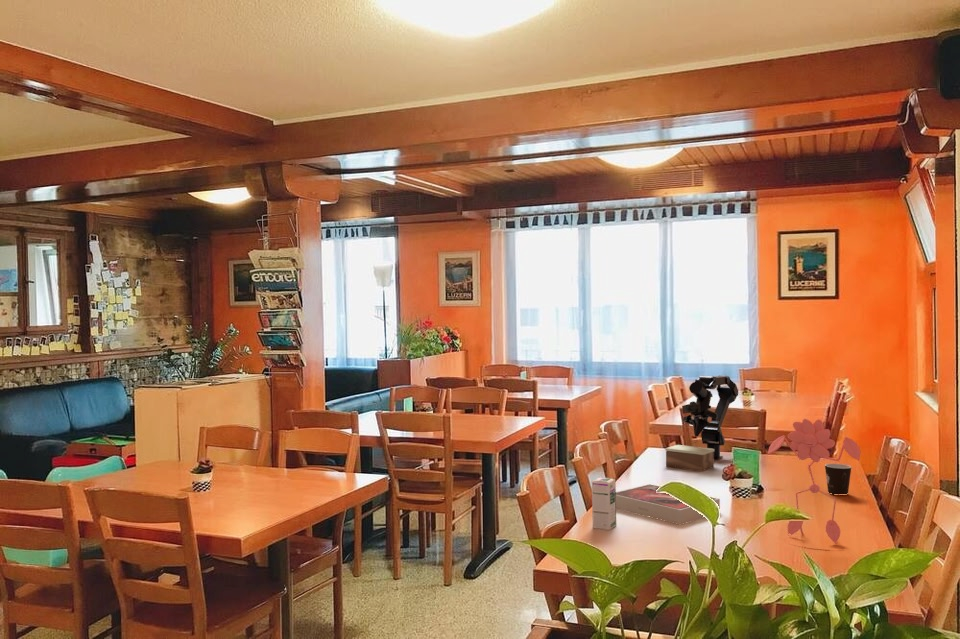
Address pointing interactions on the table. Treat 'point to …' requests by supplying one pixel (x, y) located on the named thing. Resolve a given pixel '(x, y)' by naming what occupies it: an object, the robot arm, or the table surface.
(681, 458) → the walnut box
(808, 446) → the pink flower figurine
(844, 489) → the coffee mug
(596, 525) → the syrup box
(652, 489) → the product packaging
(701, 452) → the lid
